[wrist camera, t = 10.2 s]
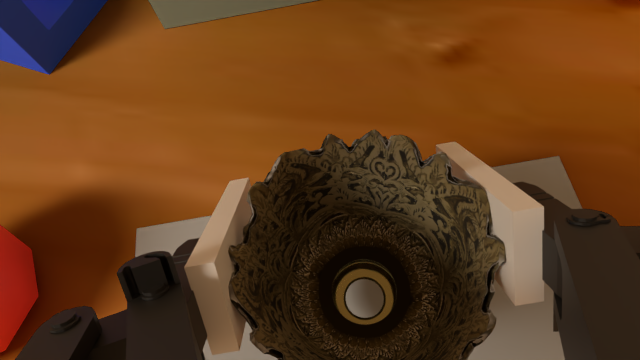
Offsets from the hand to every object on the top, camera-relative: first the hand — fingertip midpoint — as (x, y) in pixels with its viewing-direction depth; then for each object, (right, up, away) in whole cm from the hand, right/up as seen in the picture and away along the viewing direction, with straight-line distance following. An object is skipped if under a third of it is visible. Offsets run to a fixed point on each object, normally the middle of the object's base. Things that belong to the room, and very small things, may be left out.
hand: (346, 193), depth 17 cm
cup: (+1, -5, +2) cm, 5 cm away
